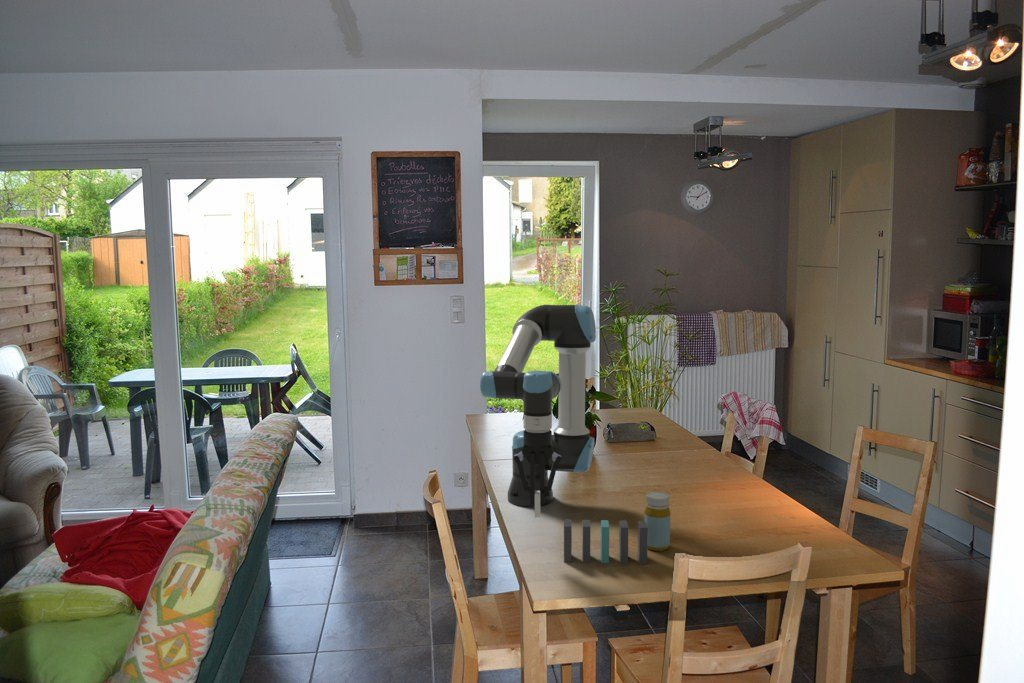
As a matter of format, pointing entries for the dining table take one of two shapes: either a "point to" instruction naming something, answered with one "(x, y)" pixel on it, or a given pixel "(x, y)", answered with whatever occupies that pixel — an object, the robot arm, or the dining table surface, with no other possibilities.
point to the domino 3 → (604, 541)
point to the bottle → (658, 521)
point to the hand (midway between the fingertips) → (537, 515)
